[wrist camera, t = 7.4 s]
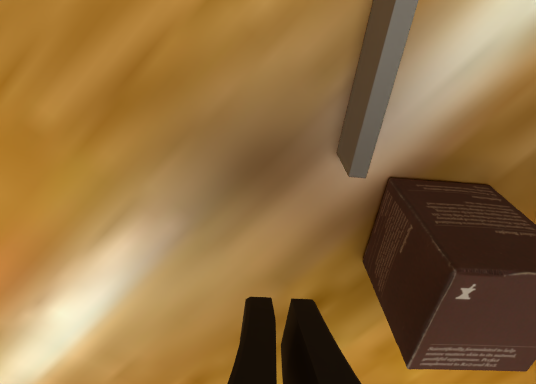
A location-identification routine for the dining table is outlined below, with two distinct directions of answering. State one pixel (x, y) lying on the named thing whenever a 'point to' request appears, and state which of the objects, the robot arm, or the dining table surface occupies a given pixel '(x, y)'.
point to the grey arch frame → (374, 82)
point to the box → (455, 276)
